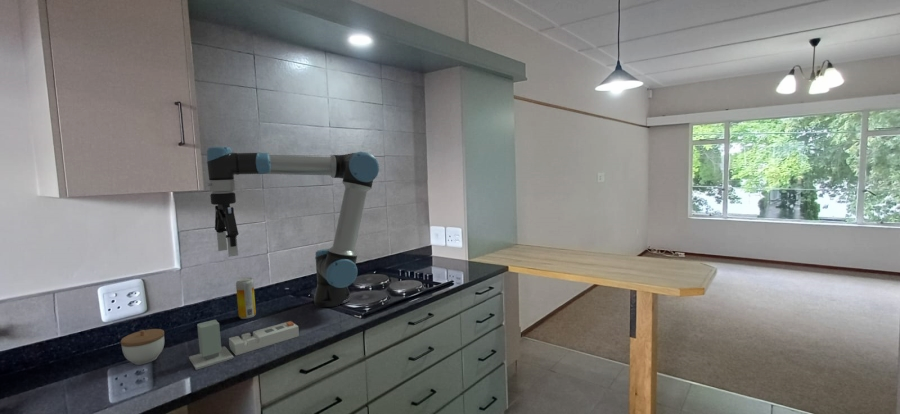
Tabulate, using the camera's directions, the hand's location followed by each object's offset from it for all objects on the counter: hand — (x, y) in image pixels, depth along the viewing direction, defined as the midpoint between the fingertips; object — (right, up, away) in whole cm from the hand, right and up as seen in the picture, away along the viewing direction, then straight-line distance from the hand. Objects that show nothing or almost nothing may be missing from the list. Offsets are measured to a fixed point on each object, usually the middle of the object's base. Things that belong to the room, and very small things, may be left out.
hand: (227, 253), depth 142 cm
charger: (+4, -30, -17) cm, 35 cm away
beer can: (-2, -27, +18) cm, 33 cm away
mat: (+4, -31, -17) cm, 35 cm away
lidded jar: (-16, -31, -17) cm, 39 cm away
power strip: (+16, -29, -6) cm, 34 cm away
